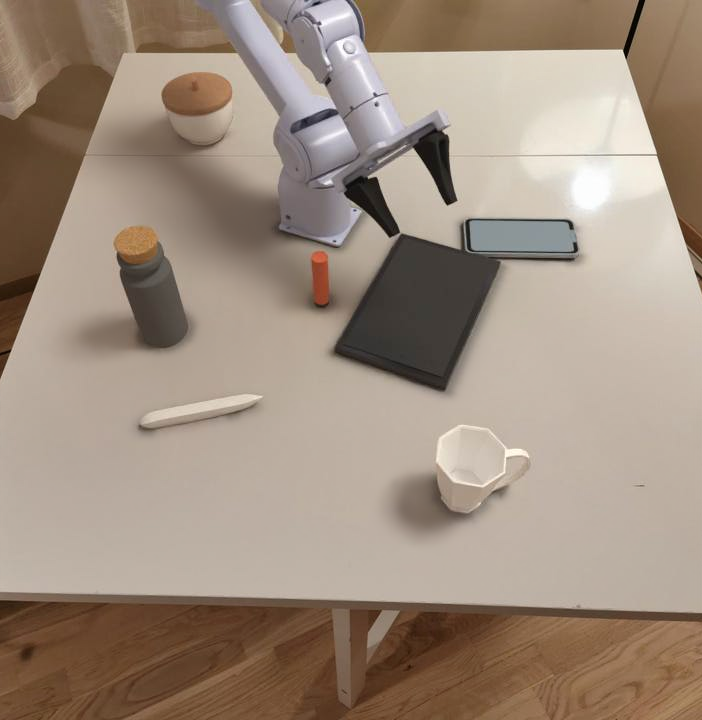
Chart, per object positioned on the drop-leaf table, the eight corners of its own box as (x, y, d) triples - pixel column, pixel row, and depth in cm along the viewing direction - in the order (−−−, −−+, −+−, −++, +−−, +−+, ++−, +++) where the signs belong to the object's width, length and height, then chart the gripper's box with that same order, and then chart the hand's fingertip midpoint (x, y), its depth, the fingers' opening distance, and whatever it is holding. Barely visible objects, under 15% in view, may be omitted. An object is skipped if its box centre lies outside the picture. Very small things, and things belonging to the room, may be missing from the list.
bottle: (196, 318, 89) (172, 227, 77) (175, 353, 86) (146, 263, 74) (155, 308, 90) (125, 217, 78) (132, 341, 87) (97, 251, 75)
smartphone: (463, 217, 99) (573, 218, 97) (462, 222, 99) (571, 223, 98) (465, 253, 94) (580, 254, 93) (465, 258, 95) (579, 260, 94)
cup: (419, 470, 75) (425, 429, 68) (509, 454, 76) (524, 412, 69) (437, 531, 71) (445, 493, 64) (533, 513, 72) (550, 474, 65)
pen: (265, 408, 80) (264, 400, 79) (141, 432, 79) (137, 424, 77) (263, 397, 81) (261, 389, 80) (140, 420, 80) (137, 412, 78)
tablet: (334, 353, 85) (334, 346, 84) (400, 239, 97) (401, 232, 96) (445, 391, 81) (446, 384, 80) (499, 267, 93) (501, 260, 92)
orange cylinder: (311, 305, 90) (308, 259, 84) (318, 294, 91) (315, 248, 85) (325, 310, 89) (323, 264, 83) (332, 299, 91) (330, 253, 84)
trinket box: (209, 107, 118) (199, 54, 111) (251, 132, 114) (244, 78, 106) (158, 135, 114) (144, 81, 106) (200, 163, 109) (188, 108, 102)
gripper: (299, 145, 78) (357, 255, 79) (407, 69, 70) (469, 192, 71) (328, 141, 84) (381, 244, 85) (430, 71, 76) (487, 184, 77)
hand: (423, 219), depth 78 cm, fingers open, 7 cm apart
